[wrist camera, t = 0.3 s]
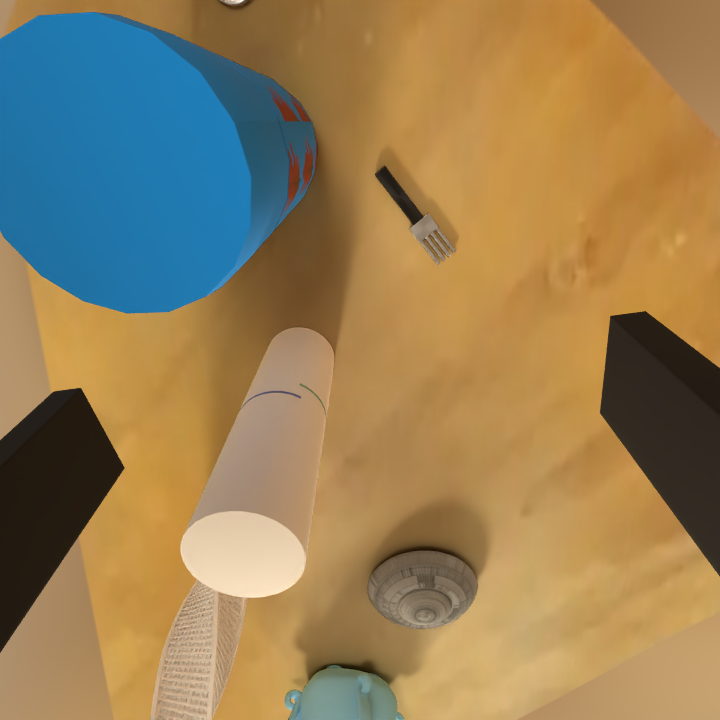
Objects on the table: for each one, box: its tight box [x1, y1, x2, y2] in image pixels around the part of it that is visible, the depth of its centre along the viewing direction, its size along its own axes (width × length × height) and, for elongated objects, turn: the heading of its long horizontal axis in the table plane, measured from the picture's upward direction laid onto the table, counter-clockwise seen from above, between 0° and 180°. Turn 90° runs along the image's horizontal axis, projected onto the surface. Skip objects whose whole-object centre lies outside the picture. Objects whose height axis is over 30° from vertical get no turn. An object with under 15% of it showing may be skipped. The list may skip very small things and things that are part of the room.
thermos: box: [0, 12, 318, 313], centre depth 28 cm, size 11×11×25 cm
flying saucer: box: [367, 551, 478, 629], centre depth 62 cm, size 15×15×6 cm
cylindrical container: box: [181, 327, 334, 598], centre depth 37 cm, size 7×7×25 cm
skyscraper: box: [150, 579, 247, 720], centre depth 48 cm, size 8×8×28 cm
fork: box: [375, 166, 456, 265], centre depth 41 cm, size 10×2×1 cm, turn 40°
